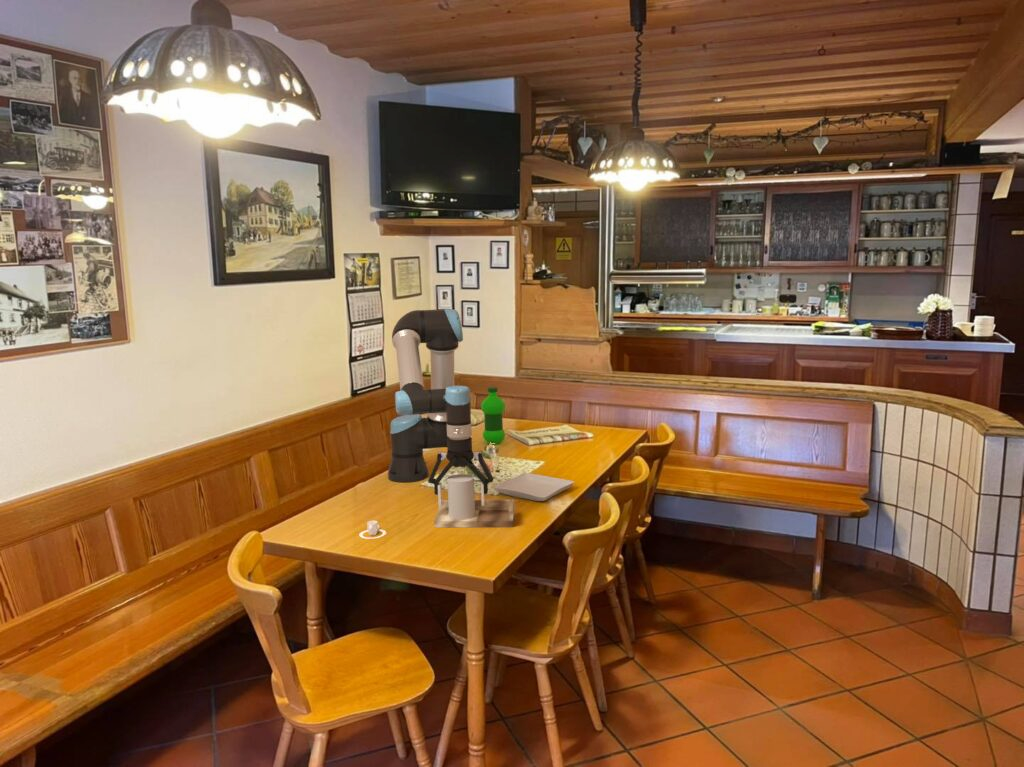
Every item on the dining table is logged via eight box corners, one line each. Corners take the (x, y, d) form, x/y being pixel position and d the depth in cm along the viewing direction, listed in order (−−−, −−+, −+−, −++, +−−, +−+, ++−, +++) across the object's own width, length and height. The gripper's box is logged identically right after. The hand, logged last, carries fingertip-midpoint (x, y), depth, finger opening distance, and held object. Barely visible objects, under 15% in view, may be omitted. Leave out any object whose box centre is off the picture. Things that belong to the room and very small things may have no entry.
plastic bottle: (505, 445, 323) (504, 389, 319) (481, 446, 324) (479, 389, 320) (506, 440, 333) (504, 385, 329) (483, 440, 334) (481, 386, 329)
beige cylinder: (470, 509, 234) (469, 473, 232) (478, 517, 227) (477, 479, 225) (445, 513, 231) (444, 476, 230) (453, 521, 224) (451, 483, 222)
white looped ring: (370, 528, 227) (369, 515, 226) (392, 531, 224) (391, 518, 223) (353, 538, 219) (353, 525, 218) (377, 541, 216) (376, 528, 215)
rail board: (434, 527, 225) (433, 511, 224) (439, 515, 236) (438, 500, 235) (513, 527, 224) (512, 511, 223) (514, 514, 235) (514, 499, 234)
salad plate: (576, 489, 260) (576, 480, 260) (544, 506, 243) (544, 496, 242) (525, 480, 272) (525, 471, 272) (492, 496, 255) (491, 486, 254)
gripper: (416, 440, 222) (420, 508, 225) (499, 439, 221) (500, 507, 224) (421, 434, 229) (424, 500, 233) (500, 433, 228) (502, 500, 232)
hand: (461, 504), depth 229 cm, fingers open, 13 cm apart
